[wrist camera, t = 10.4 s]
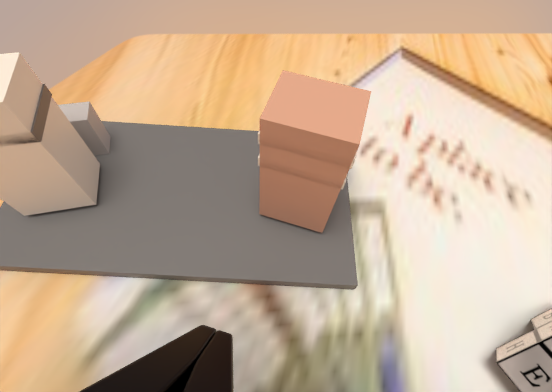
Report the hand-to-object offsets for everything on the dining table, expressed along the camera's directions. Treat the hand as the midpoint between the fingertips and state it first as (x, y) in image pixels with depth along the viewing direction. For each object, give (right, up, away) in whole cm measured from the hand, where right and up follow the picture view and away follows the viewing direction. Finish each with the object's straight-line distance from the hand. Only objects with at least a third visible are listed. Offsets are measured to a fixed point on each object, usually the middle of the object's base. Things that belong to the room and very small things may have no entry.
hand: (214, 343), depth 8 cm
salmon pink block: (+3, +3, +16) cm, 17 cm away
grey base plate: (-6, +4, +18) cm, 19 cm away
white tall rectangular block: (-15, +4, +16) cm, 22 cm away
